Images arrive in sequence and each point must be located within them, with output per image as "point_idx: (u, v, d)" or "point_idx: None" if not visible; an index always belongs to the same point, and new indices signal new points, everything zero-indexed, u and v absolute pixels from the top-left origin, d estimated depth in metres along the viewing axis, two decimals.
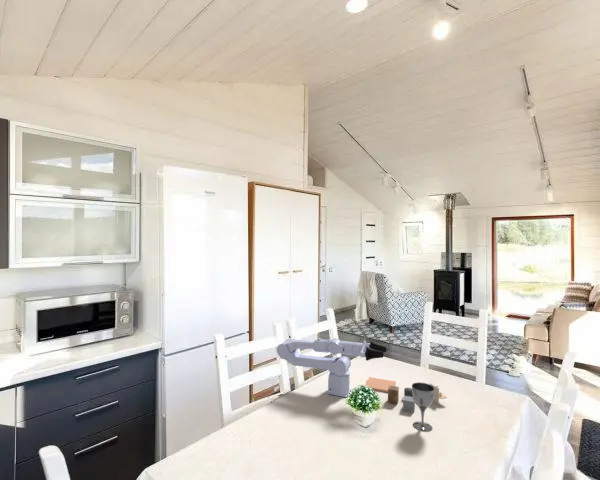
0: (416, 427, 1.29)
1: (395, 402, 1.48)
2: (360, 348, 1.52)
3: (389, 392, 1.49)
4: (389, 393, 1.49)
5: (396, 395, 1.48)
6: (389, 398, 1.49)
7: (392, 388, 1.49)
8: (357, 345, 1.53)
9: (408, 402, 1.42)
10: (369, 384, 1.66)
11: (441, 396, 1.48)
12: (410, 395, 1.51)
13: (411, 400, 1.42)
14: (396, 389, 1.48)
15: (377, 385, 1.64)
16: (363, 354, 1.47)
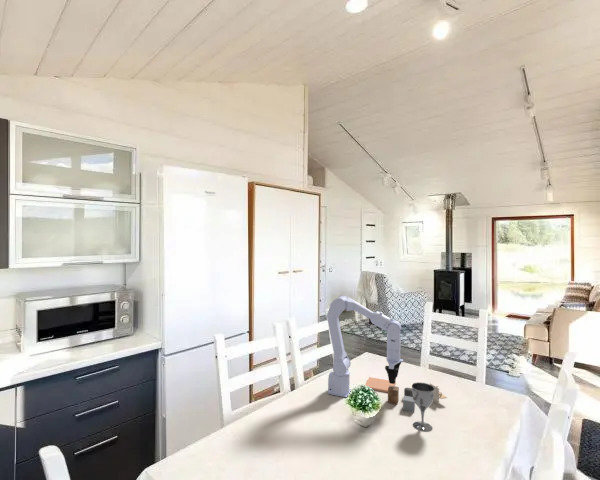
0: (416, 427, 1.29)
1: (395, 402, 1.48)
2: (395, 358, 1.47)
3: (389, 392, 1.49)
4: (389, 393, 1.49)
5: (396, 395, 1.48)
6: (389, 398, 1.49)
7: (392, 388, 1.49)
8: (398, 355, 1.47)
9: (408, 402, 1.42)
10: (369, 384, 1.66)
11: (441, 396, 1.48)
12: (410, 395, 1.51)
13: (411, 400, 1.42)
14: (396, 389, 1.48)
15: (377, 385, 1.64)
16: (391, 367, 1.43)
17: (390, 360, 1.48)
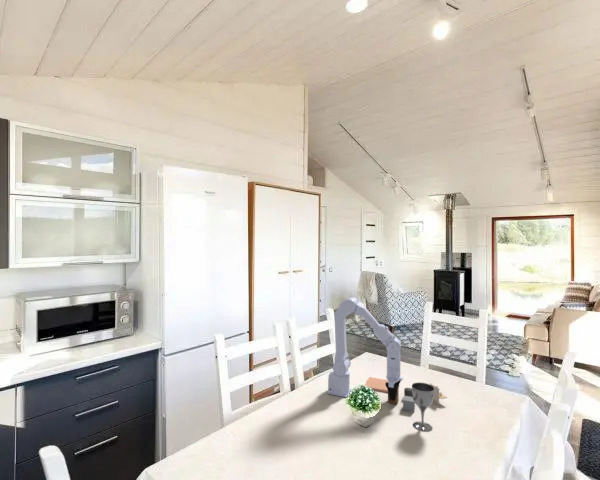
0: (416, 427, 1.29)
1: (395, 402, 1.48)
2: (395, 376, 1.47)
3: None
4: None
5: (396, 395, 1.48)
6: (389, 398, 1.49)
7: None
8: (398, 373, 1.47)
9: (408, 402, 1.42)
10: (369, 384, 1.66)
11: (441, 396, 1.48)
12: (410, 395, 1.51)
13: (411, 400, 1.42)
14: None
15: (377, 385, 1.64)
16: (391, 386, 1.43)
17: (390, 378, 1.48)
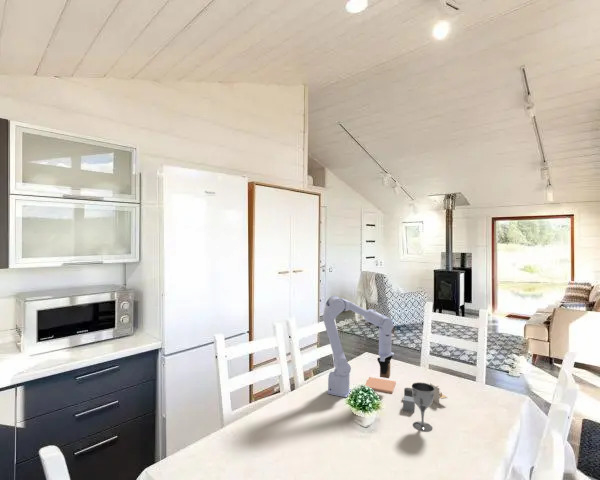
0: (416, 427, 1.29)
1: (387, 376, 1.58)
2: (386, 352, 1.57)
3: None
4: None
5: (387, 369, 1.58)
6: None
7: None
8: (389, 349, 1.58)
9: (408, 402, 1.42)
10: (369, 384, 1.66)
11: (441, 396, 1.48)
12: (410, 395, 1.51)
13: (411, 400, 1.42)
14: None
15: (377, 385, 1.64)
16: (382, 360, 1.53)
17: (381, 353, 1.58)
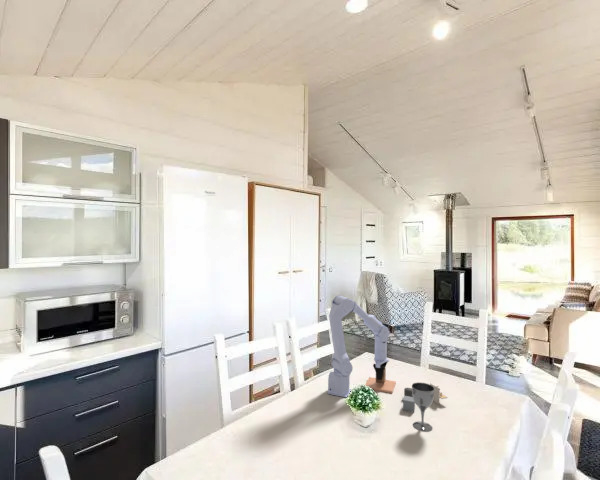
0: (416, 427, 1.29)
1: (382, 381, 1.64)
2: (382, 358, 1.63)
3: None
4: None
5: (383, 375, 1.64)
6: None
7: None
8: (384, 355, 1.64)
9: (408, 402, 1.42)
10: (369, 384, 1.66)
11: (442, 396, 1.48)
12: (410, 395, 1.51)
13: (411, 400, 1.42)
14: None
15: (377, 385, 1.64)
16: (378, 366, 1.59)
17: (377, 360, 1.64)
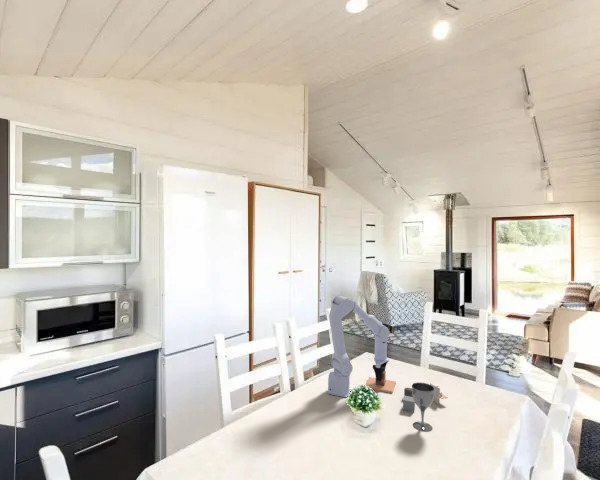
0: (416, 427, 1.29)
1: (382, 384, 1.64)
2: (382, 358, 1.63)
3: None
4: None
5: (383, 378, 1.64)
6: None
7: None
8: (384, 355, 1.64)
9: (408, 402, 1.42)
10: (369, 384, 1.66)
11: (442, 396, 1.48)
12: (410, 395, 1.51)
13: (411, 400, 1.42)
14: (383, 372, 1.64)
15: (377, 385, 1.64)
16: (378, 366, 1.59)
17: (377, 360, 1.64)
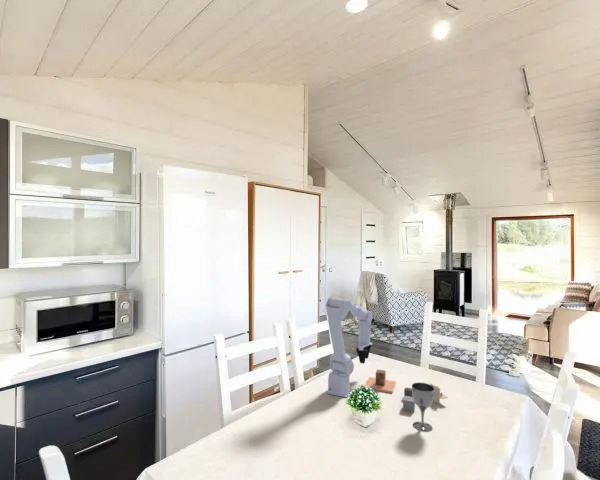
0: (416, 427, 1.29)
1: (382, 384, 1.64)
2: (365, 342, 1.71)
3: (377, 375, 1.65)
4: (377, 376, 1.65)
5: (383, 378, 1.64)
6: (377, 380, 1.65)
7: (379, 371, 1.65)
8: (368, 339, 1.71)
9: (408, 402, 1.42)
10: (369, 384, 1.66)
11: (442, 396, 1.48)
12: (410, 395, 1.51)
13: (411, 400, 1.42)
14: (383, 372, 1.64)
15: (377, 385, 1.64)
16: (361, 349, 1.67)
17: (361, 343, 1.71)
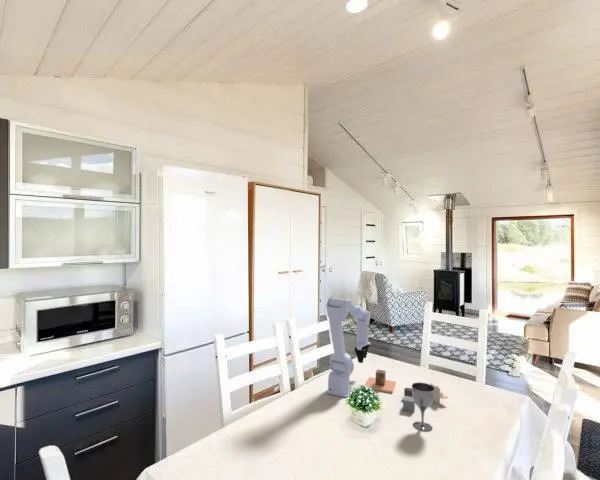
0: (416, 427, 1.29)
1: (382, 384, 1.64)
2: (363, 341, 1.72)
3: (377, 375, 1.65)
4: (377, 376, 1.65)
5: (383, 378, 1.64)
6: (377, 380, 1.65)
7: (379, 371, 1.65)
8: (366, 338, 1.72)
9: (408, 402, 1.42)
10: (369, 384, 1.66)
11: (442, 396, 1.48)
12: (410, 395, 1.51)
13: (411, 400, 1.42)
14: (383, 372, 1.64)
15: (377, 385, 1.64)
16: (359, 348, 1.68)
17: (359, 343, 1.72)
